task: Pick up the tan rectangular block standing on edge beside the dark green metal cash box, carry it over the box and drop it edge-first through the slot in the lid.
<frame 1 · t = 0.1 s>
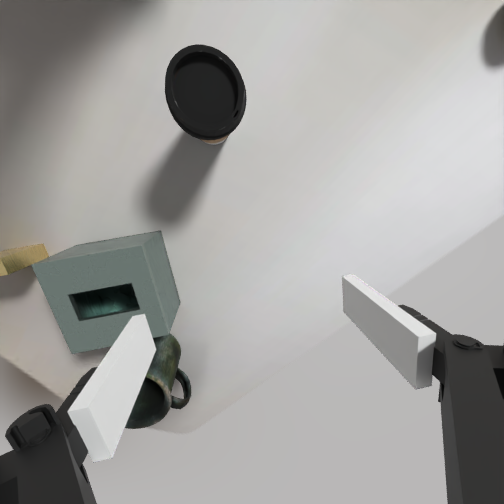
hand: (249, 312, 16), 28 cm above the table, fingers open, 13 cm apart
coin box: (131, 275, 43), on the table
mug: (162, 351, 48), on the table
tan rectangular block: (27, 253, 40), on the table
coffee cup: (212, 124, 38), on the table
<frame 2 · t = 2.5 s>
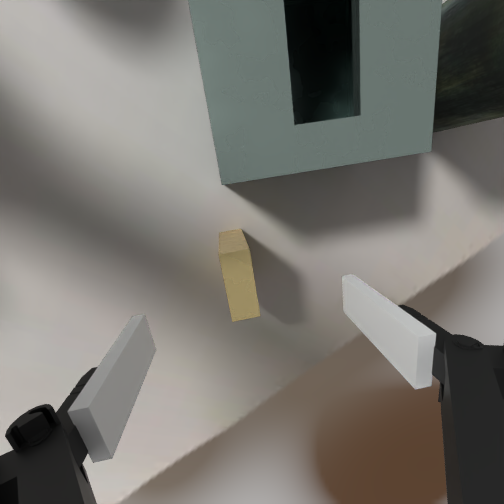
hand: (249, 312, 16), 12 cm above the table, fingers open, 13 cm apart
coin box: (280, 95, 23), on the table
mug: (444, 63, 24), on the table
tan rectangular block: (234, 256, 27), on the table
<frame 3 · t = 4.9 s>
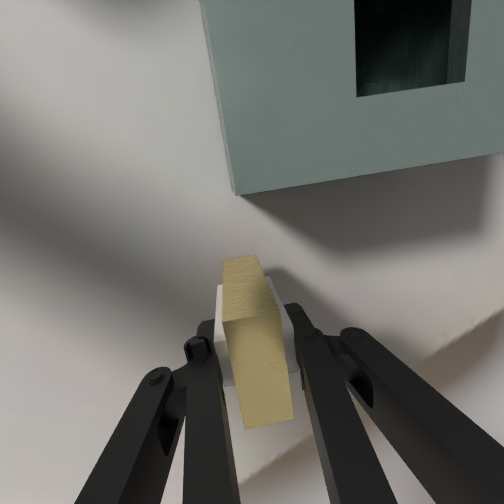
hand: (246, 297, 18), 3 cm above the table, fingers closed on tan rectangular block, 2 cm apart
coin box: (311, 75, 17), on the table
tan rectangular block: (245, 294, 18), point 3 cm above the table, touching gripper
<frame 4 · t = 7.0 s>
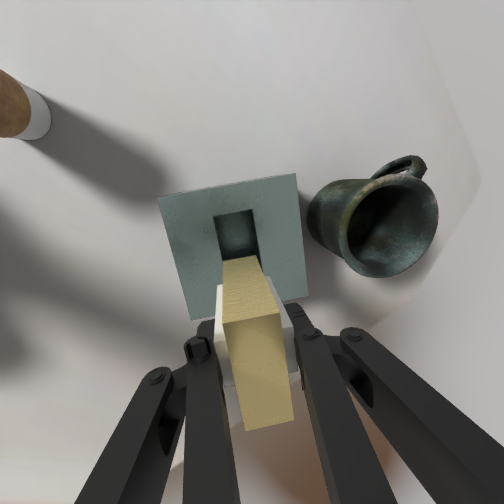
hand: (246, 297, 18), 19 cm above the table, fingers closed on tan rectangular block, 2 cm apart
coin box: (235, 232, 35), on the table
mug: (344, 205, 36), on the table
tan rectangular block: (245, 295, 18), point 18 cm above the table, touching gripper
coffee cup: (25, 113, 29), on the table
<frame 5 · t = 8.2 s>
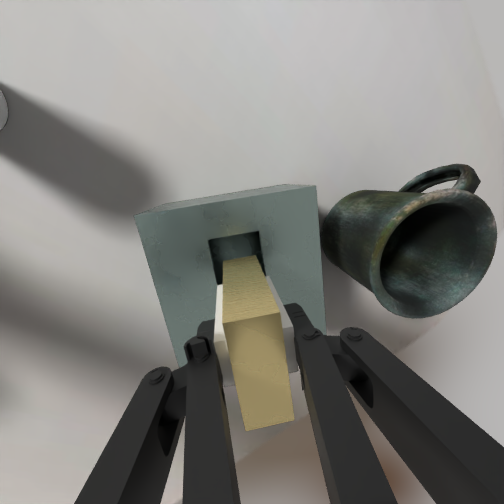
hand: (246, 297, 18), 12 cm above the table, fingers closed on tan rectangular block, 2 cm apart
coin box: (236, 251, 30), on the table
mug: (364, 219, 31), on the table
tan rectangular block: (245, 294, 18), point 12 cm above the table, touching gripper
when the fingers open (11 cm above the table, at t = 9.0 s): tan rectangular block drops 10 cm, resting on coin box.
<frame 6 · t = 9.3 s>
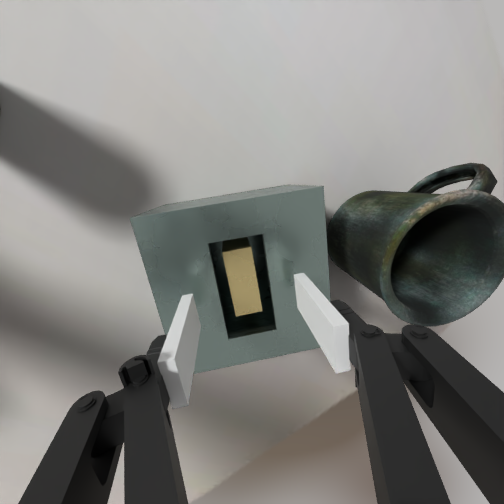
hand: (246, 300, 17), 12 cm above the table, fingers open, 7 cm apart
coin box: (237, 253, 29), on the table
mug: (371, 221, 30), on the table
tan rectangular block: (237, 255, 28), point 1 cm above the table, touching coin box
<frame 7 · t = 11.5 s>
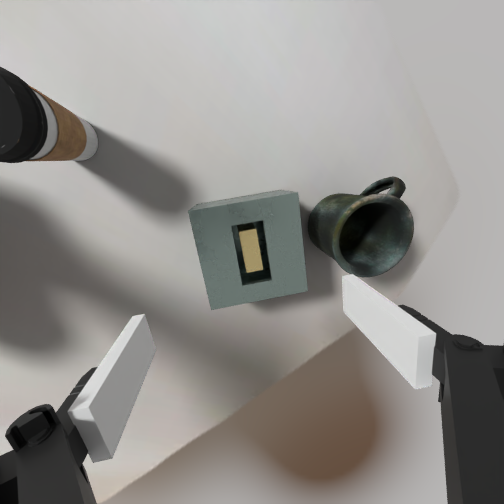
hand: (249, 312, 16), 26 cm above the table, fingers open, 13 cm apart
coin box: (246, 237, 42), on the table
mug: (339, 215, 42), on the table
tan rectangular block: (246, 238, 41), point 1 cm above the table, touching coin box
coffee cup: (77, 139, 35), on the table
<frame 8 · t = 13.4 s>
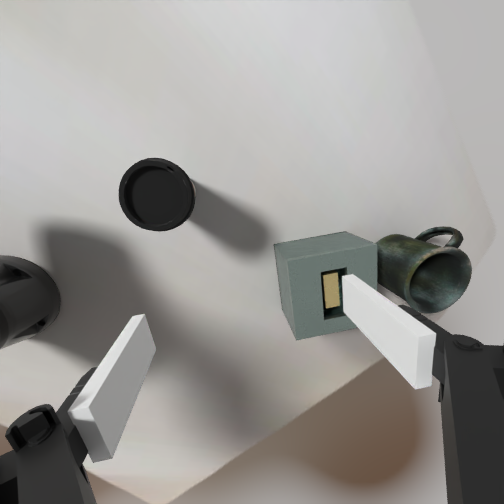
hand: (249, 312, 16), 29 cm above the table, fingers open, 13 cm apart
coin box: (312, 271, 47), on the table
mug: (393, 251, 48), on the table
tan rectangular block: (314, 273, 47), point 1 cm above the table, touching coin box
coffee cup: (178, 191, 41), on the table
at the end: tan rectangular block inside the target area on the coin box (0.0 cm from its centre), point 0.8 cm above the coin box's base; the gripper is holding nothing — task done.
